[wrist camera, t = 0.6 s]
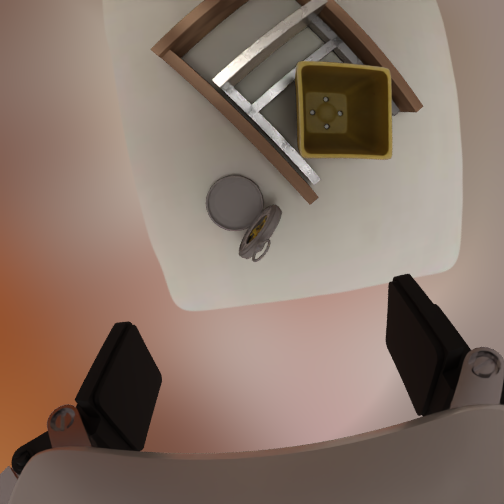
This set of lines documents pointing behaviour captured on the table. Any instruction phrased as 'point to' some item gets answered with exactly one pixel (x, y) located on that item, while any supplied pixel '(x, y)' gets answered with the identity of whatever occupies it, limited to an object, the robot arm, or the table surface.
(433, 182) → the table surface
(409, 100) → the frame
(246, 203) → the pocket watch
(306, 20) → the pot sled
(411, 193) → the table surface
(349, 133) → the flower pot
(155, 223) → the table surface
